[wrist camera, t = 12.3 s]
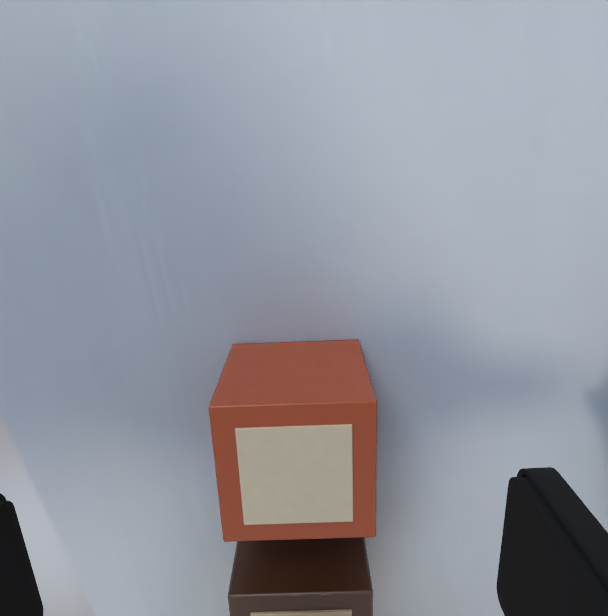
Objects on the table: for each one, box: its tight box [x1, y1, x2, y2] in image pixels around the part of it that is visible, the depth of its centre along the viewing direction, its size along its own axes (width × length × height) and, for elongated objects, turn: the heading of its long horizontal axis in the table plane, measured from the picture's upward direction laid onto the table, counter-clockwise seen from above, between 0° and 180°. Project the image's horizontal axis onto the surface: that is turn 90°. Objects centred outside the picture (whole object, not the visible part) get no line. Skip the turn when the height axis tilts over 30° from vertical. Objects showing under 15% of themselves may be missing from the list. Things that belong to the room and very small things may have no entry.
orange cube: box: [209, 340, 377, 542], centre depth 14 cm, size 4×4×4 cm
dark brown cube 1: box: [228, 537, 373, 616], centre depth 15 cm, size 4×4×4 cm
